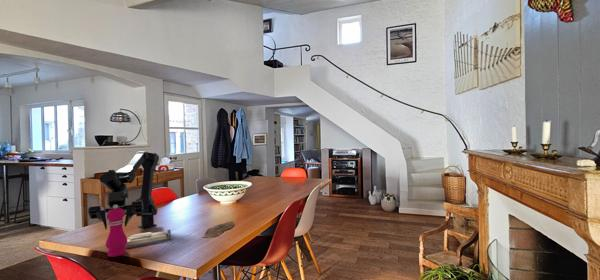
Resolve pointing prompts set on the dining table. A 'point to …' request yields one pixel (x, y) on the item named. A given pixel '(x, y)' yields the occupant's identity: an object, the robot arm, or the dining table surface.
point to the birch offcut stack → (145, 238)
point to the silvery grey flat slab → (153, 241)
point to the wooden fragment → (218, 229)
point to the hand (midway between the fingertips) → (115, 227)
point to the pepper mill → (116, 232)
